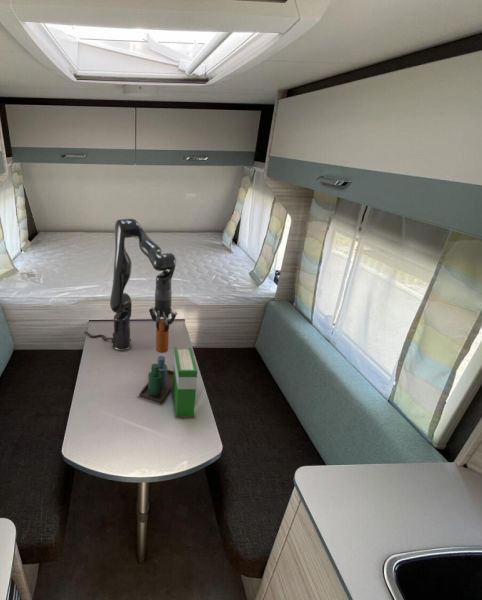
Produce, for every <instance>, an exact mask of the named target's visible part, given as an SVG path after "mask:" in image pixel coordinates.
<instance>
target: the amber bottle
mask: <svg viewBox="0 0 482 600" xmlns="http://www.w3.org/2000/svg"><path fill="white" fill-rule="evenodd" d="M169 334H170V330H168V331H167V332H166V331H165V320H164V318H160V320H159V330H158V329H157V328H156V330H155V351H156V352H157V353H160V354H165V353H168V351H169V337H170V336H169Z"/></svg>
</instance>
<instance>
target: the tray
mask: <svg viewBox="0 0 482 600" xmlns="http://www.w3.org/2000/svg"><path fill="white" fill-rule="evenodd" d="M173 372H174V370H171V369H167V387H166V388H165V389H162V390H161V396H160V397H159V398H154V397H151V396H149V395H148V382H147V383H146V385H144V387H143V388H142V389H141V391H140V393H139V394H138V395H139V396H138V397H140V398H143V399H146V400H149V401H152V402H154V403H157V404H160V405H162V404H163V402H164V401H165V400H166V398H167V396H168V395H169V393H171V390H173Z"/></svg>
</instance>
